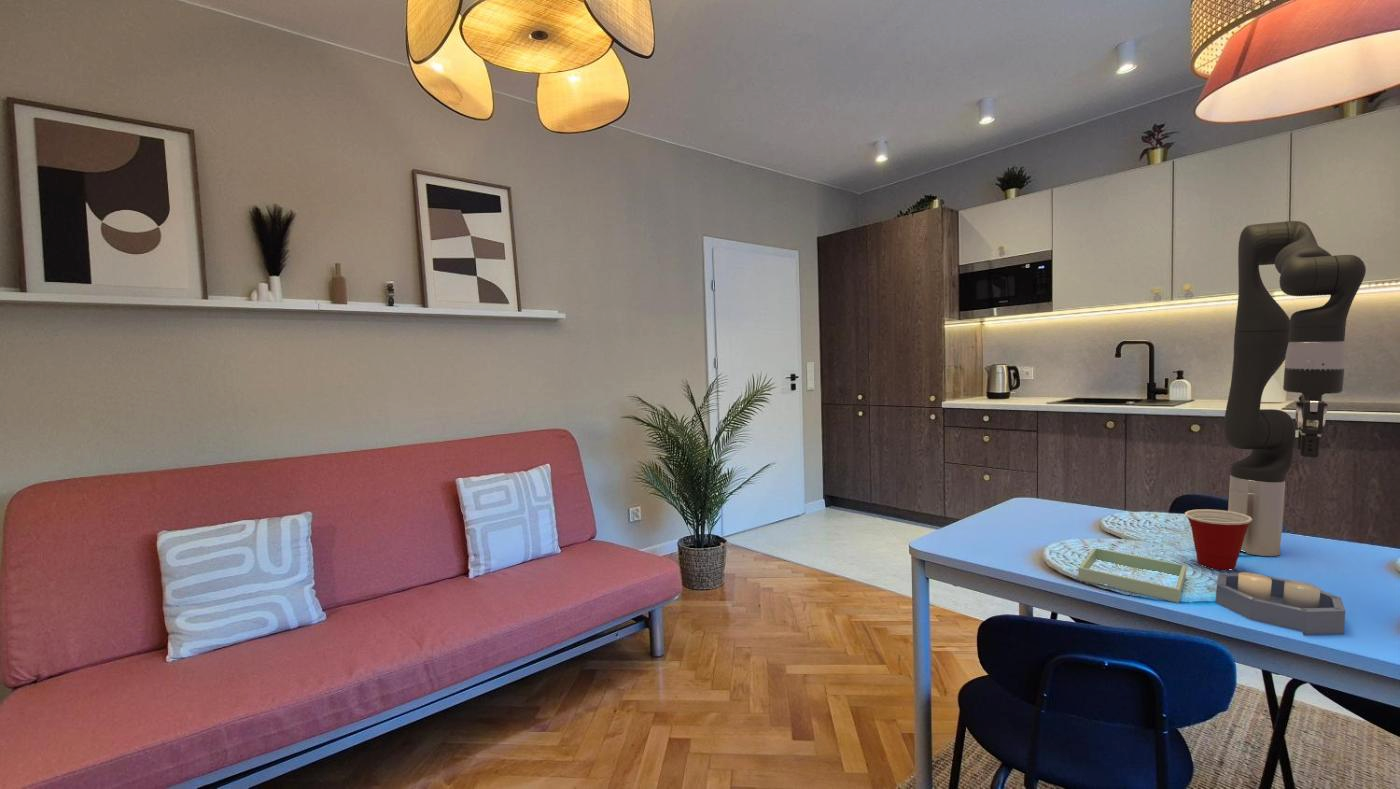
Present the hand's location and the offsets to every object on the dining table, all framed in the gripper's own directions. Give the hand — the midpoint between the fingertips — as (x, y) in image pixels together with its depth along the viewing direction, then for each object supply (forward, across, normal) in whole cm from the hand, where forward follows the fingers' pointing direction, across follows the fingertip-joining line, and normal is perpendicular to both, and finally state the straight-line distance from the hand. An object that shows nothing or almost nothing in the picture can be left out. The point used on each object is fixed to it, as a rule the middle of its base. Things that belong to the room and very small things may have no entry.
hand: (1307, 453), depth 107 cm
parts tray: (+28, -10, +24) cm, 38 cm away
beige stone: (+27, -10, +6) cm, 30 cm away
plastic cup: (+28, +10, +12) cm, 32 cm away
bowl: (+28, -10, +3) cm, 30 cm away
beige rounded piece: (+27, -10, 0) cm, 29 cm away
